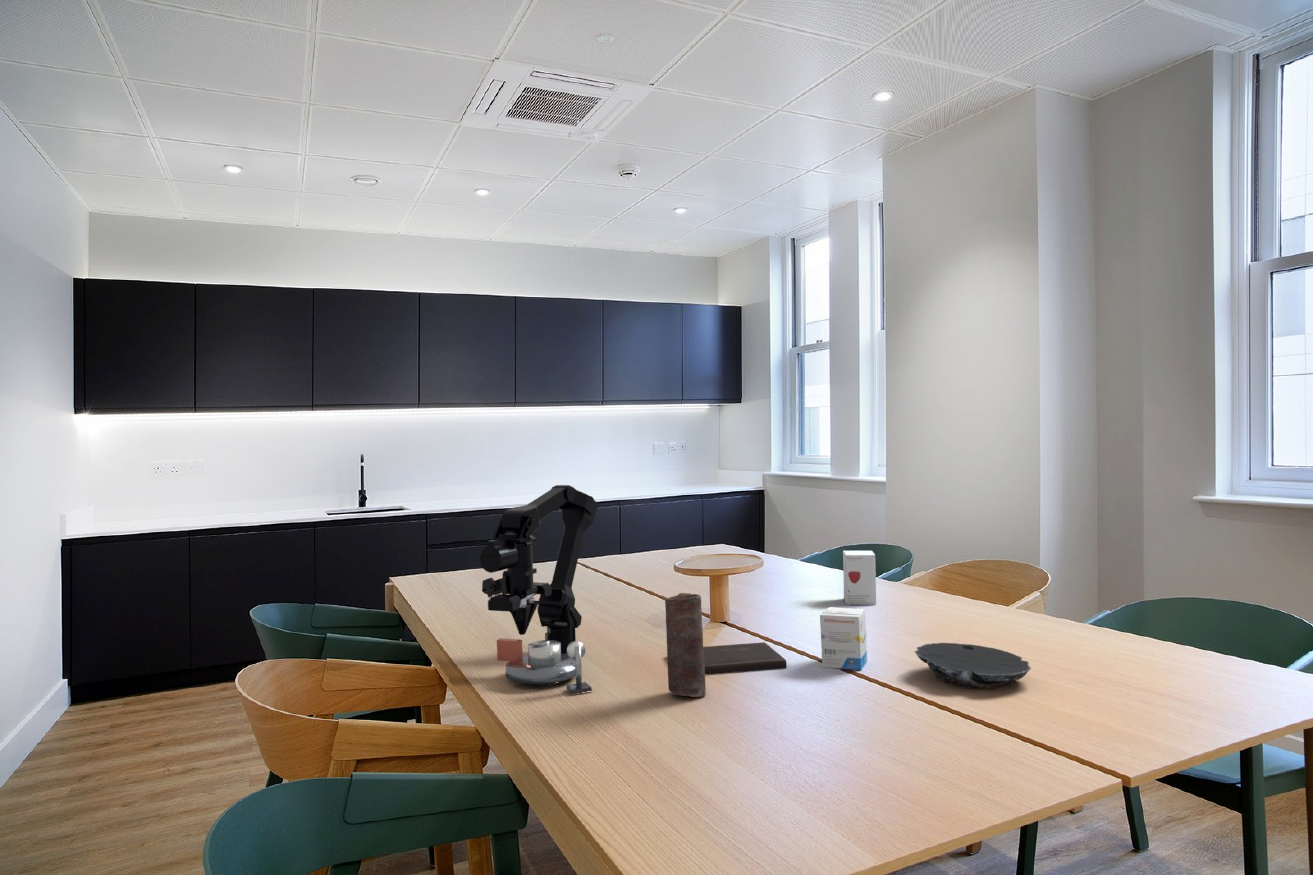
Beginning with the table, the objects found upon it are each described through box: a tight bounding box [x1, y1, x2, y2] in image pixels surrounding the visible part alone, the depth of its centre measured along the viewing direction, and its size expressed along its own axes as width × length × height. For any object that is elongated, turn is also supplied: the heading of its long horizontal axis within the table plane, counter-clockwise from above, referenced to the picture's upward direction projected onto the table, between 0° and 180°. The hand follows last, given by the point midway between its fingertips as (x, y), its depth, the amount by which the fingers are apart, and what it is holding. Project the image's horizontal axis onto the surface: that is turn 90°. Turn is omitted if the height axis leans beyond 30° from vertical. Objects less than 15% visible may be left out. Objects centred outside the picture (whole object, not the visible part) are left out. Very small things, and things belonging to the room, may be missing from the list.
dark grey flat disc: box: [913, 642, 1032, 691], centre depth 163 cm, size 22×22×5 cm
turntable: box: [496, 638, 576, 685], centre depth 171 cm, size 16×16×6 cm
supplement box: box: [842, 550, 877, 606], centre depth 239 cm, size 9×9×15 cm
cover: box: [527, 639, 561, 668], centre depth 171 cm, size 7×7×5 cm
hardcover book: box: [703, 641, 788, 675], centre depth 179 cm, size 16×23×2 cm
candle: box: [664, 592, 707, 698], centre depth 157 cm, size 8×7×20 cm
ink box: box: [819, 606, 868, 671], centre depth 175 cm, size 9×8×12 cm
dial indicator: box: [566, 640, 593, 695], centre depth 163 cm, size 4×6×10 cm, turn 24°
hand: (522, 634), depth 179 cm, fingers closed
